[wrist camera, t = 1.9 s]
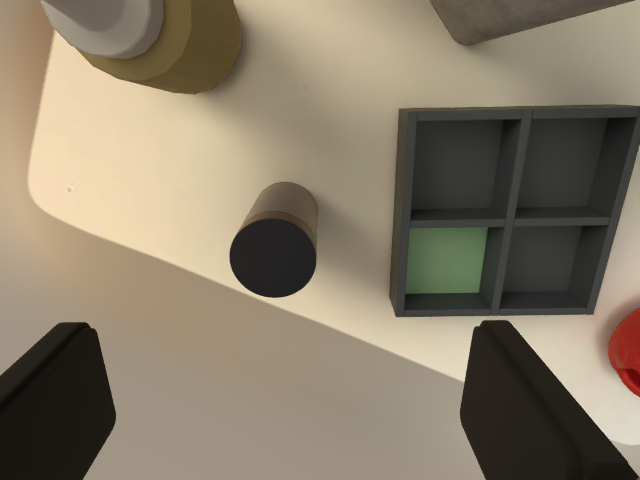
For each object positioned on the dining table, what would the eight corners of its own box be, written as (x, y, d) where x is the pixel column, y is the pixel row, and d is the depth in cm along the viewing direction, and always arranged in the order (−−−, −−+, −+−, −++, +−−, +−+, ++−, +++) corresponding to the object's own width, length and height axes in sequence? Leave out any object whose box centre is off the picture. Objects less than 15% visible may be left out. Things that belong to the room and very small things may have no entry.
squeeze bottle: (185, 113, 32) (30, 143, 15) (120, 13, 29) (-157, -87, 12) (271, 58, 30) (206, 24, 13) (210, -52, 28) (35, -267, 11)
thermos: (317, 181, 34) (315, 217, 24) (318, 242, 36) (317, 297, 26) (251, 182, 34) (224, 219, 24) (256, 242, 36) (233, 298, 26)
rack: (614, 104, 31) (650, 106, 28) (569, 294, 37) (593, 314, 34) (398, 108, 31) (408, 111, 28) (389, 296, 38) (395, 317, 34)
